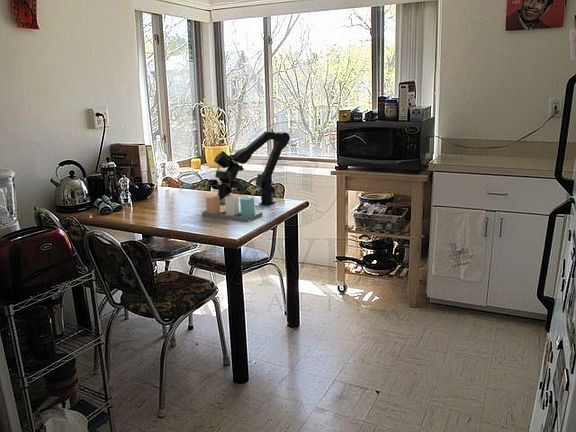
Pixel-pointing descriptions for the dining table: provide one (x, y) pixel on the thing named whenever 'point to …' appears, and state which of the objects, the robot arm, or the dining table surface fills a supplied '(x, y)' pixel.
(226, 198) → the white rectangular block
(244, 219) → the grey tray
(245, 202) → the teal block
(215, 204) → the pink upright block
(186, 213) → the dining table surface
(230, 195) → the ceramic mug
